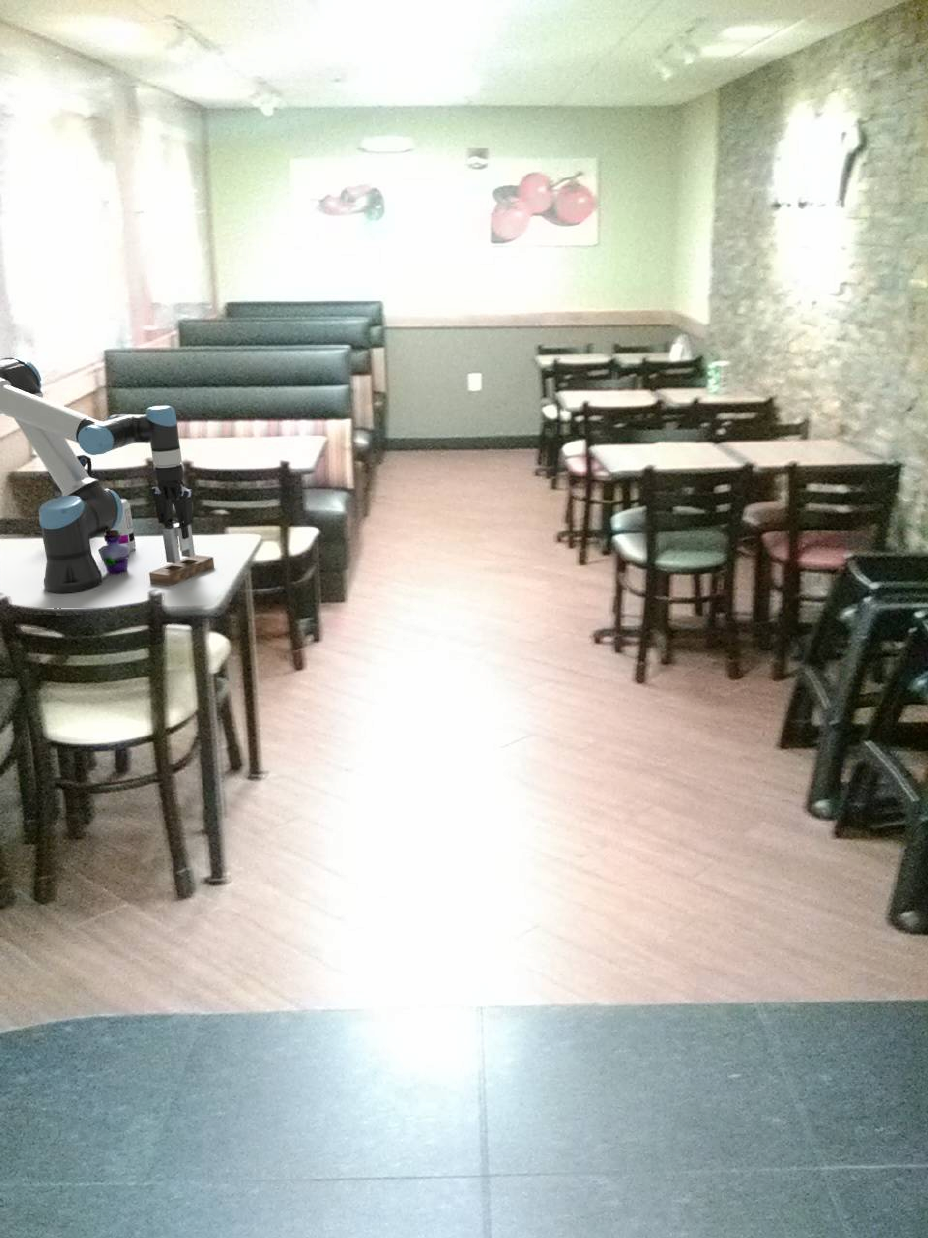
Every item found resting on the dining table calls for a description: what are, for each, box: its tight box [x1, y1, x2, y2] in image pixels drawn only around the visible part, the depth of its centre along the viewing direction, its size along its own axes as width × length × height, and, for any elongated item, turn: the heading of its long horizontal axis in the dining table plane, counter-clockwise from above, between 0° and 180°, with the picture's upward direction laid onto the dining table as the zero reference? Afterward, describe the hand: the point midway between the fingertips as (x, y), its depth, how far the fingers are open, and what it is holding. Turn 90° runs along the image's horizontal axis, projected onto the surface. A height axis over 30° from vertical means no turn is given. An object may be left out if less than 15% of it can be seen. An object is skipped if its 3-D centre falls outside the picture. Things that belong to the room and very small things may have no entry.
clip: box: [161, 522, 196, 564], centre depth 314 cm, size 8×3×10 cm, turn 151°
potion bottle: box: [97, 530, 131, 575], centre depth 322 cm, size 9×9×12 cm
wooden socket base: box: [148, 554, 215, 587], centre depth 317 cm, size 18×7×3 cm, turn 151°
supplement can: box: [104, 498, 137, 552], centre depth 343 cm, size 8×8×15 cm
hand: (179, 549), depth 315 cm, fingers closed on clip, 3 cm apart
